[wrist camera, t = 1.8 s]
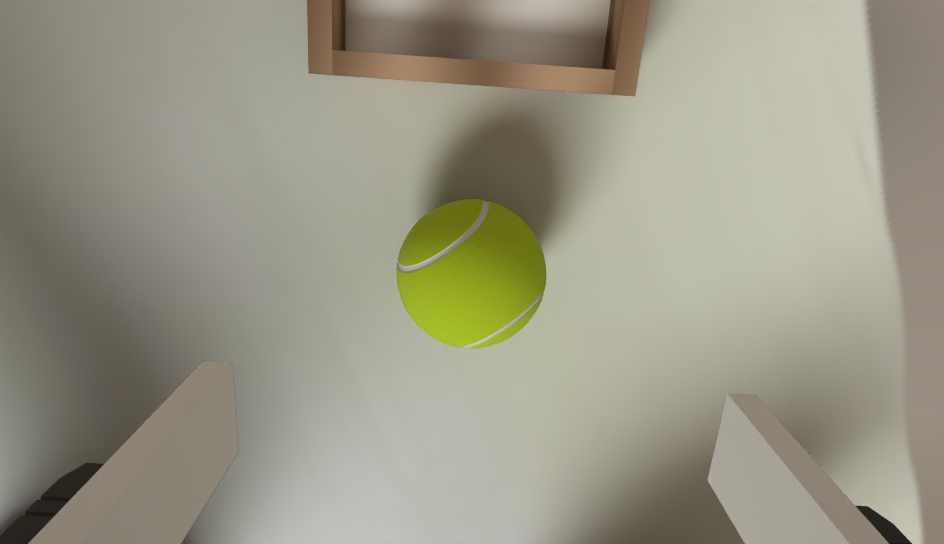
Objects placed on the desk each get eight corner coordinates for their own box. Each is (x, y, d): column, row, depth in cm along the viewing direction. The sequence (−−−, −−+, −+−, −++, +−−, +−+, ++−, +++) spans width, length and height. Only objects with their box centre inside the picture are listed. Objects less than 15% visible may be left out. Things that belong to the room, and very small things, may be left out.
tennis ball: (379, 235, 31) (353, 278, 24) (490, 160, 30) (495, 183, 23) (454, 336, 33) (450, 402, 26) (561, 269, 31) (586, 320, 25)
